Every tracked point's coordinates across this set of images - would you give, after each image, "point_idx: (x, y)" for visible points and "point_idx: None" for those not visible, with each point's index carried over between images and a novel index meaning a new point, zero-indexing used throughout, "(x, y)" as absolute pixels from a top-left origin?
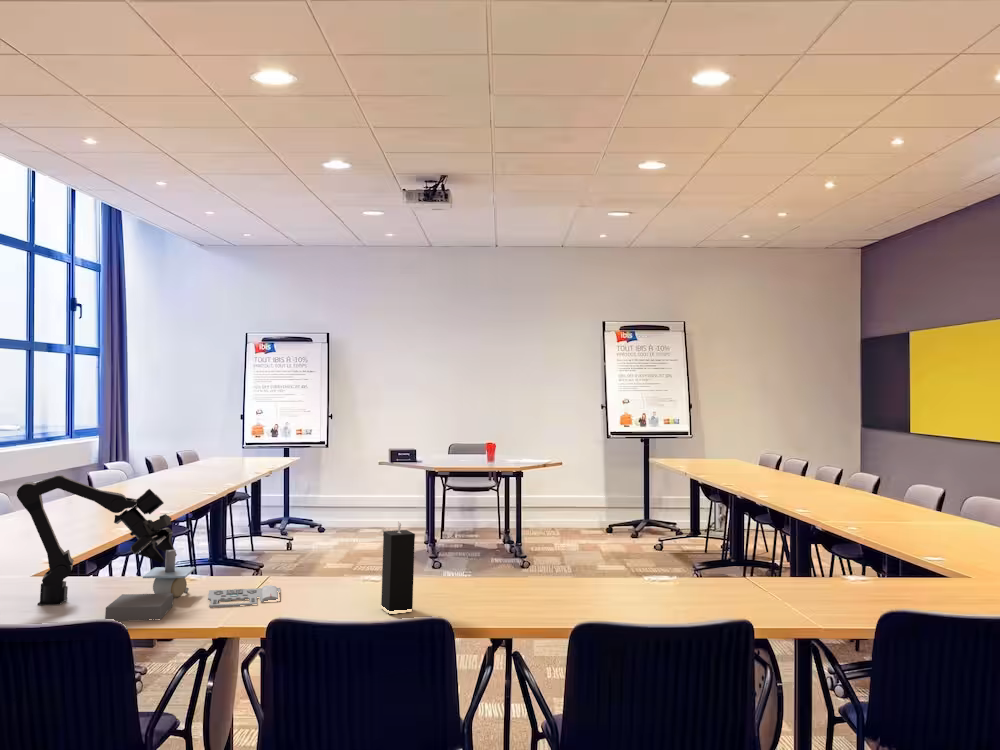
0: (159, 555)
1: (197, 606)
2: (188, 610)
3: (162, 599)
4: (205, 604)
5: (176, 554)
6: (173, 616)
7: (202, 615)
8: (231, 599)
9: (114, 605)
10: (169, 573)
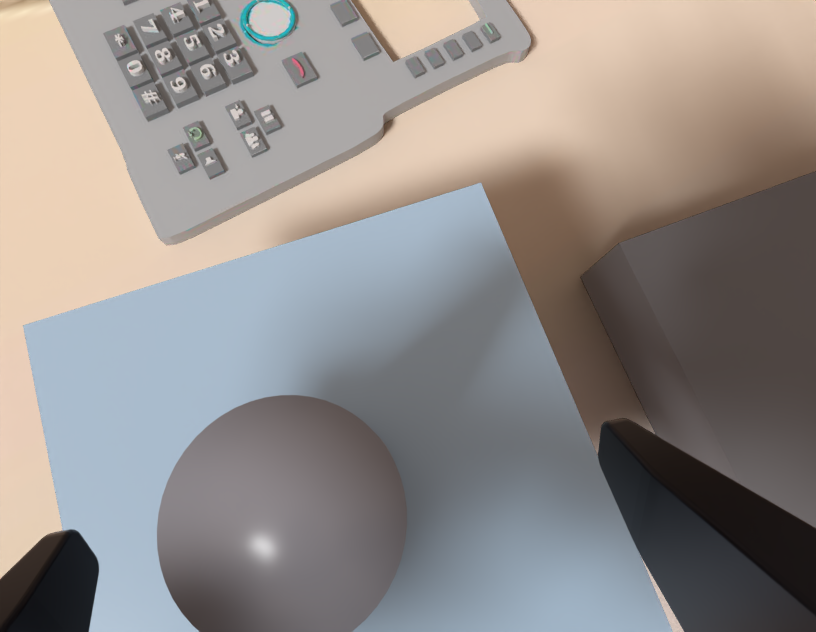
0: (753, 497)
1: (527, 131)
2: (623, 134)
3: (800, 214)
4: (469, 111)
5: (50, 536)
6: (763, 145)
7: (678, 15)
8: (351, 2)
9: None
10: (431, 419)
